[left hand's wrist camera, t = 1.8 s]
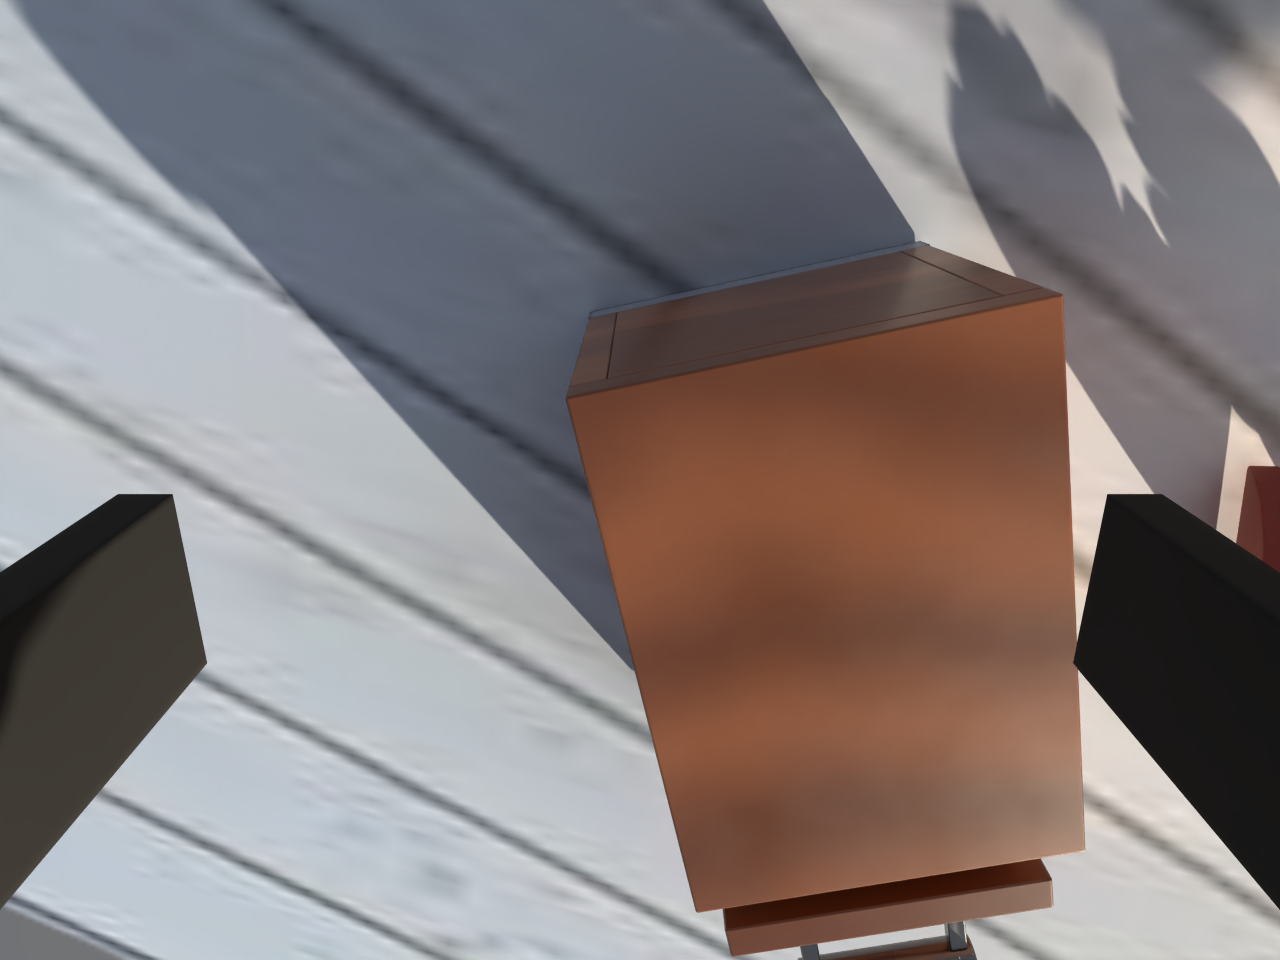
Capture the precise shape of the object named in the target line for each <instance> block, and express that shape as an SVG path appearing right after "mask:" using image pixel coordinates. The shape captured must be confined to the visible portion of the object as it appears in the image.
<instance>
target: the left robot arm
mask: <svg viewBox="0 0 1280 960" xmlns="http://www.w3.org/2000/svg"><path fill="white" fill-rule="evenodd" d="M206 664H207V660H206V655H205V651H204V646H203V641H202V636H201V631H200V626H199V621H198V616H197V611H196V606H195V602H194V597H193V592H192V587H191V582H190V577H189V572H188V567H187V562H186V557H185V553H184V548H183V543H182V538H181V533H180V528H179V523H178V518H177V513H176V508H175V504H174V499H173V494H118V495H116V496H115V497H113V498H112V499H110V500H109V501H107V502H106V503H104V504H103V505H101V506H100V507H98V508H97V509H95V510H94V511H92V512H91V513H89V514H88V515H86V516H85V517H83V518H82V519H80V520H79V521H77V522H76V523H74V524H73V525H71V526H70V527H68V528H67V529H65V530H63V531H62V532H60V533H59V534H57V535H56V536H54V537H53V538H51V539H50V540H48V541H47V542H45V543H44V544H42V545H41V546H39V547H38V548H36V549H35V550H33V551H32V552H30V553H29V554H27V555H26V556H24V557H23V558H21V559H20V560H18V561H17V562H15V563H14V564H12V565H11V566H9V567H8V568H6V569H5V570H3V571H2V572H0V909H1V908H2V907H3V906H4V905H5V903H6V902H7V901H8V900H9V899H10V897H11V896H12V895H13V894H14V893H15V892H16V890H17V889H18V888H19V887H20V886H21V884H22V883H23V882H24V881H25V880H26V878H27V877H28V876H29V875H30V874H31V872H32V871H33V870H34V869H35V868H36V866H37V865H38V864H39V863H40V862H41V861H42V859H43V858H44V857H45V856H46V855H47V853H48V852H49V851H50V850H51V849H52V847H53V846H54V845H55V844H56V843H57V841H58V840H59V839H60V838H61V837H62V836H63V834H64V833H65V832H66V831H67V830H68V828H69V827H70V826H71V825H72V824H73V822H74V821H75V820H76V819H77V818H78V816H79V815H80V814H81V813H82V812H83V810H84V809H85V808H86V807H87V806H88V805H89V803H90V802H91V801H92V800H93V799H94V797H95V796H96V795H97V794H98V793H99V791H100V790H101V789H102V788H103V787H104V785H105V784H106V783H107V782H108V781H109V779H110V778H111V777H112V776H113V775H114V774H115V772H116V771H117V770H118V769H119V768H120V766H121V765H122V764H123V763H124V762H125V760H126V759H127V758H128V757H129V756H130V754H131V753H132V752H133V751H134V750H135V749H136V747H137V746H138V745H139V744H140V743H141V741H142V740H143V739H144V738H145V737H146V735H147V734H148V733H149V732H150V731H151V729H152V728H153V727H154V726H155V725H156V723H157V722H158V721H159V720H160V719H161V718H162V716H163V715H164V714H165V713H166V712H167V710H168V709H169V708H170V707H171V706H172V704H173V703H174V702H175V701H176V700H177V698H178V697H179V696H180V695H181V694H182V692H183V691H184V690H185V689H186V688H187V687H188V685H189V684H190V683H191V682H192V681H193V679H194V678H195V677H196V676H197V675H198V673H199V672H200V671H201V670H202V669H203V667H204V666H205V665H206ZM1073 664H1074V665H1075V666H1076V667H1077V669H1078V670H1079V671H1080V672H1081V673H1082V675H1083V676H1084V677H1085V678H1086V679H1087V681H1088V682H1089V683H1090V684H1091V685H1092V687H1093V688H1094V689H1095V690H1096V691H1097V692H1098V694H1099V695H1100V696H1101V697H1102V698H1103V700H1104V701H1105V702H1106V703H1107V704H1108V706H1109V707H1110V708H1111V709H1112V710H1113V712H1114V713H1115V714H1116V715H1117V716H1118V718H1119V719H1120V720H1121V721H1122V722H1123V723H1124V725H1125V726H1126V727H1127V728H1128V729H1129V731H1130V732H1131V733H1132V734H1133V735H1134V737H1135V738H1136V739H1137V740H1138V741H1139V743H1140V744H1141V745H1142V746H1143V747H1144V749H1145V750H1146V751H1147V752H1148V753H1149V754H1150V756H1151V757H1152V758H1153V759H1154V760H1155V762H1156V763H1157V764H1158V765H1159V766H1160V768H1161V769H1162V770H1163V771H1164V772H1165V774H1166V775H1167V776H1168V777H1169V778H1170V779H1171V781H1172V782H1173V783H1174V784H1175V785H1176V787H1177V788H1178V789H1179V790H1180V791H1181V793H1182V794H1183V795H1184V796H1185V797H1186V799H1187V800H1188V801H1189V802H1190V803H1191V805H1192V806H1193V807H1194V808H1195V809H1196V810H1197V812H1198V813H1199V814H1200V815H1201V816H1202V818H1203V819H1204V820H1205V821H1206V822H1207V824H1208V825H1209V826H1210V827H1211V828H1212V830H1213V831H1214V832H1215V833H1216V834H1217V836H1218V837H1219V838H1220V839H1221V840H1222V841H1223V843H1224V844H1225V845H1226V846H1227V847H1228V849H1229V850H1230V851H1231V852H1232V853H1233V855H1234V856H1235V857H1236V858H1237V859H1238V861H1239V862H1240V863H1241V864H1242V865H1243V866H1244V868H1245V869H1246V870H1247V871H1248V872H1249V874H1250V875H1251V876H1252V877H1253V878H1254V880H1255V881H1256V882H1257V883H1258V884H1259V886H1260V887H1261V888H1262V889H1263V890H1264V892H1265V893H1266V894H1267V895H1268V896H1269V897H1270V899H1271V900H1272V901H1273V902H1274V903H1275V905H1276V906H1277V907H1278V908H1279V909H1280V572H1278V571H1277V570H1275V569H1274V568H1272V567H1271V566H1269V565H1268V564H1266V563H1265V562H1263V561H1262V560H1260V559H1259V558H1257V557H1256V556H1254V555H1253V554H1251V553H1250V552H1248V551H1247V550H1245V549H1244V548H1242V547H1241V546H1239V545H1238V544H1236V543H1235V542H1233V541H1232V540H1230V539H1229V538H1227V537H1226V536H1224V535H1223V534H1221V533H1220V532H1218V531H1217V530H1215V529H1213V528H1212V527H1210V526H1209V525H1207V524H1206V523H1204V522H1203V521H1201V520H1200V519H1198V518H1197V517H1195V516H1194V515H1192V514H1191V513H1189V512H1188V511H1186V510H1185V509H1183V508H1182V507H1180V506H1179V505H1177V504H1176V503H1174V502H1173V501H1171V500H1170V499H1168V498H1167V497H1165V496H1164V495H1162V494H1107V499H1106V504H1105V508H1104V513H1103V518H1102V523H1101V528H1100V533H1099V538H1098V543H1097V548H1096V553H1095V557H1094V562H1093V567H1092V572H1091V577H1090V582H1089V587H1088V592H1087V597H1086V602H1085V606H1084V611H1083V616H1082V621H1081V626H1080V631H1079V636H1078V641H1077V646H1076V651H1075V655H1074V660H1073Z"/></svg>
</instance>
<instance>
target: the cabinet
mask: <svg viewBox="0 0 1280 960" xmlns="http://www.w3.org/2000/svg"><path fill="white" fill-rule="evenodd" d="M566 402H567V406H568V410H569V414H570V418H571V422H572V426H573V430H574V434H575V438H576V441H577V445H578V449H579V453H580V457H581V461H582V465H583V469H584V473H585V477H586V481H587V485H588V489H589V493H590V497H591V501H592V504H593V508H594V512H595V516H596V520H597V524H598V528H599V532H600V536H601V540H602V544H603V548H604V552H605V556H606V560H607V564H608V567H609V571H610V575H611V579H612V583H613V587H614V591H615V595H616V599H617V603H618V607H619V611H620V615H621V619H622V623H623V627H624V631H625V634H626V638H627V642H628V646H629V650H630V654H631V658H632V662H633V666H634V670H635V674H636V678H637V682H638V686H639V690H640V694H641V697H642V701H643V705H644V709H645V713H646V717H647V721H648V725H649V729H650V733H651V737H652V741H653V745H654V749H655V753H656V757H657V760H658V764H659V768H660V772H661V776H662V780H663V784H664V788H665V792H666V796H667V800H668V804H669V808H670V812H671V816H672V820H673V823H674V827H675V831H676V835H677V839H678V843H679V847H680V851H681V855H682V859H683V863H684V867H685V871H686V875H687V879H688V883H689V886H690V890H691V894H692V898H693V902H694V906H695V910H696V912H698V913H699V912H705V911H711V910H718V909H724V908H730V907H737V906H743V905H749V904H755V903H762V902H768V901H774V900H781V899H787V898H793V897H800V896H806V895H812V894H818V893H825V892H831V891H837V890H844V889H850V888H856V887H862V886H869V885H875V884H881V883H888V882H894V881H900V880H907V879H913V878H919V877H925V876H932V875H938V874H944V873H951V872H957V871H963V870H970V869H976V868H982V867H988V866H995V865H1001V864H1007V863H1014V862H1020V861H1026V860H1032V859H1039V858H1045V857H1051V856H1058V855H1064V854H1070V853H1077V852H1083V851H1085V832H1084V808H1083V783H1082V758H1081V733H1080V709H1079V684H1078V669H1077V667H1076V666H1075V665H1074V664H1073V660H1074V655H1075V651H1076V646H1077V634H1076V609H1075V585H1074V560H1073V535H1072V510H1071V486H1070V461H1069V436H1068V411H1067V386H1066V362H1065V337H1064V312H1063V295H1062V294H1060V293H1058V292H1055V291H1052V290H1050V289H1047V288H1044V287H1041V286H1038V285H1036V284H1033V283H1030V282H1028V281H1025V280H1022V279H1019V278H1017V277H1014V276H1011V275H1008V274H1006V273H1003V272H1000V271H997V270H995V269H992V268H989V267H986V266H984V265H981V264H978V263H975V262H973V261H970V260H967V259H965V258H962V257H959V256H956V255H954V254H951V253H948V252H945V251H943V250H940V249H937V248H934V247H932V246H930V244H927V243H924V242H921V241H918V242H914V243H909V244H905V245H900V246H895V247H891V248H886V249H881V250H877V251H872V252H867V253H863V254H858V255H854V256H849V257H844V258H840V259H835V260H830V261H826V262H821V263H816V264H812V265H807V266H803V267H798V268H793V269H789V270H784V271H779V272H775V273H770V274H765V275H761V276H756V277H751V278H747V279H742V280H738V281H733V282H728V283H724V284H719V285H714V286H710V287H705V288H700V289H696V290H691V291H687V292H682V293H677V294H673V295H668V296H663V297H659V298H654V299H649V300H645V301H640V302H636V303H631V304H626V305H622V306H617V307H612V308H608V309H603V310H598V311H594V312H590V315H589V322H588V325H587V329H586V332H585V335H584V339H583V342H582V345H581V349H580V352H579V355H578V359H577V362H576V365H575V369H574V372H573V375H572V379H571V382H570V385H569V389H568V393H567V396H566Z"/></svg>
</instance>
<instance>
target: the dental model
mask: <svg viewBox="0 0 1280 960" xmlns="http://www.w3.org/2000/svg"><path fill="white" fill-rule="evenodd" d="M1236 544H1238V545H1239V546H1241V547H1242V548H1244V549H1245V550H1247V551H1248V552H1250V553H1251V554H1253V555H1254V556H1256V557H1257V558H1259V559H1260V560H1262V561H1263V562H1265V563H1266V564H1268V565H1269V566H1271V567H1272V568H1274V569H1275V570H1277V571H1278V572H1280V467H1275V466H1249V467H1248V469H1247V475H1246V482H1245V488H1244V495H1243V502H1242V508H1241V515H1240V521H1239V528H1238V535H1237V542H1236Z"/></svg>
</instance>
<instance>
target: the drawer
mask: <svg viewBox="0 0 1280 960" xmlns="http://www.w3.org/2000/svg"><path fill="white" fill-rule="evenodd" d="M1051 907H1053V890H1052V878H1051V876H1050V874H1049V873H1048V871H1047V869H1046V867H1045V865H1044V864H1043V862H1042V860H1041V858H1039V859H1032V860H1026V861H1020V862H1014V863H1007V864H1001V865H995V866H988V867H982V868H976V869H970V870H963V871H957V872H951V873H944V874H938V875H932V876H925V877H919V878H913V879H907V880H900V881H894V882H888V883H881V884H875V885H869V886H862V887H856V888H850V889H844V890H837V891H831V892H825V893H818V894H812V895H806V896H800V897H793V898H787V899H781V900H774V901H768V902H762V903H755V904H749V905H743V906H737V907H730V908H724V909H723V916H724V926H725V932H726V937H727V941H728V945H729V949H730V953H731V955H732V956H740V955H746V954H753V953H759V952H766V951H772V950H779V949H785V948H792V947H798V946H800V948H801V953H802V958H798V960H977V958H976V955H975V951H974V948H973V946H972V943H971V941H970V938H969V937H968V935H967V934H966V927H965V921H967V920H973V919H980V918H986V917H993V916H999V915H1006V914H1012V913H1019V912H1025V911H1032V910H1038V909H1044V908H1051ZM941 924H944V926H945V934H946V936H939V937H932V938H926V939H919V940H913V941H906V942H900V943H893V944H887V945H880V946H874V947H867V948H861V949H854V950H848V951H841V952H835V953H828V954H822V955H819V950H818V945H817V944H818V943H824V942H831V941H837V940H844V939H850V938H857V937H863V936H870V935H876V934H882V933H889V932H895V931H902V930H908V929H915V928H921V927H928V926H934V925H941Z"/></svg>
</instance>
